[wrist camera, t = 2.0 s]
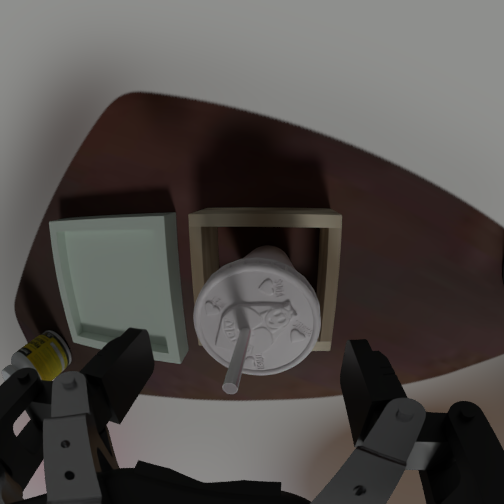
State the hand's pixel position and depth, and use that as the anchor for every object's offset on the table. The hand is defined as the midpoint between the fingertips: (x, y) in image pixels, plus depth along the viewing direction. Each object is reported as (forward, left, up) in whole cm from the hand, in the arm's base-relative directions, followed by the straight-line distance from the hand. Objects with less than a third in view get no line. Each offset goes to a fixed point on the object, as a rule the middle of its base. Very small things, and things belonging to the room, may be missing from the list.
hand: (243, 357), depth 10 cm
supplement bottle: (+27, +12, -13) cm, 32 cm away
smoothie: (0, 0, -13) cm, 13 cm away
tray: (+14, +2, -13) cm, 19 cm away
